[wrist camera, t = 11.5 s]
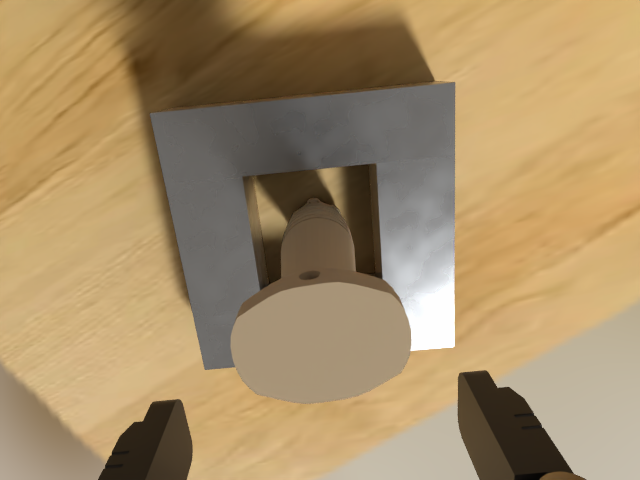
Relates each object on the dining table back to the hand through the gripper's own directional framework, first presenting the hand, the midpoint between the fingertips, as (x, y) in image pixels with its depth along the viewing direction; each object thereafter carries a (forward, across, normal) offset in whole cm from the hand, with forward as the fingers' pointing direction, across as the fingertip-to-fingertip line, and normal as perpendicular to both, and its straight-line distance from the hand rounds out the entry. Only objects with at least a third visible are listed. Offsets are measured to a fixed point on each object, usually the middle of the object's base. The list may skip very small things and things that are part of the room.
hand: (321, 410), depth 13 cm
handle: (+18, 0, 0) cm, 19 cm away
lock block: (+18, 0, 0) cm, 18 cm away
